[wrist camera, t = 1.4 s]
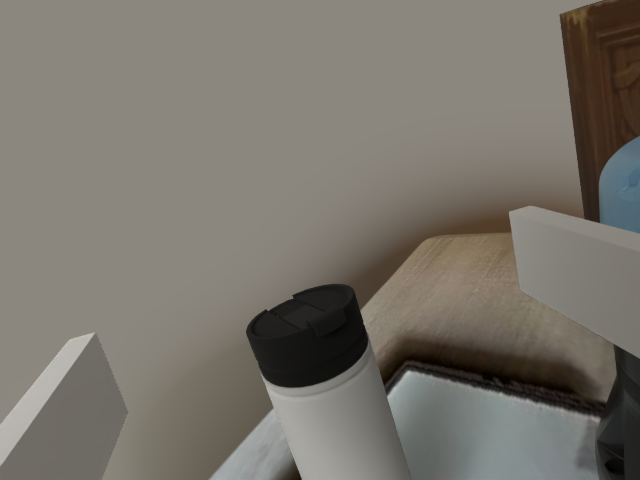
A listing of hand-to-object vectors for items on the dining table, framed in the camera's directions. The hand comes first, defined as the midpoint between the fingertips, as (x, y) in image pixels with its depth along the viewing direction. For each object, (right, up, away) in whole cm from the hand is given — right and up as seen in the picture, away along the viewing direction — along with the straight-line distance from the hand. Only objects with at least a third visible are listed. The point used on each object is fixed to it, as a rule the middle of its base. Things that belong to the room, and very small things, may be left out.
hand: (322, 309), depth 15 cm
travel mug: (+5, -19, +17) cm, 26 cm away
